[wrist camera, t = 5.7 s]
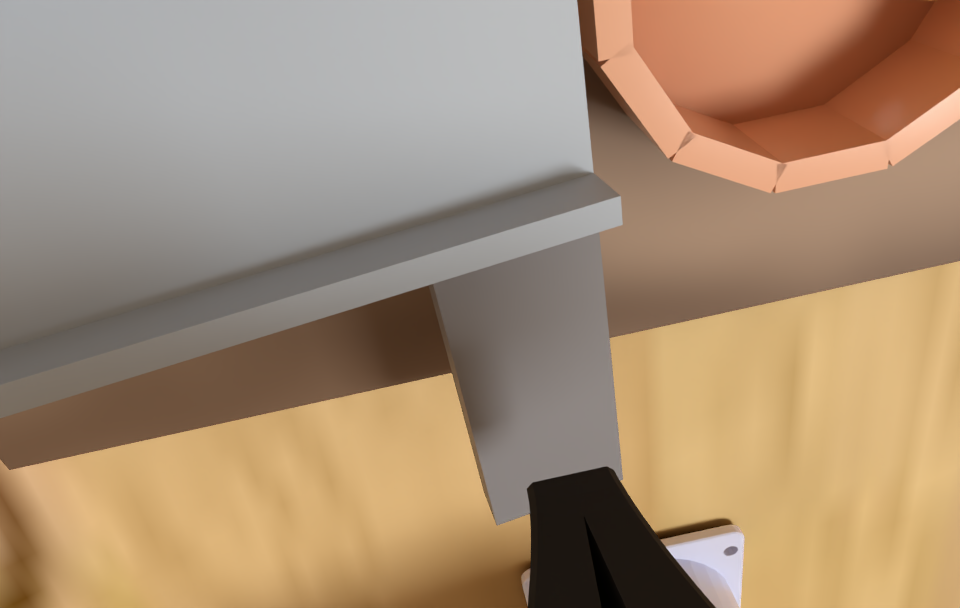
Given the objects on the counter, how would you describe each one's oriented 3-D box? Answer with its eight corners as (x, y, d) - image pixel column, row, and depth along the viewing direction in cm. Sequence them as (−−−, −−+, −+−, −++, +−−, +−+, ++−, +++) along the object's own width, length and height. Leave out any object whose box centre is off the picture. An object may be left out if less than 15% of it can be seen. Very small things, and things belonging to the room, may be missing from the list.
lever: (577, 407, 18) (655, 531, 14) (-36, 618, 16) (-115, 821, 12) (490, -225, 10) (606, -277, 7) (-681, 22, 8) (-1315, 118, 5)
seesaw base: (938, 242, 19) (1072, 336, 15) (25, 442, 19) (-60, 584, 15) (1107, -512, 11) (1469, -695, 7) (-453, -166, 11) (-867, -175, 7)
